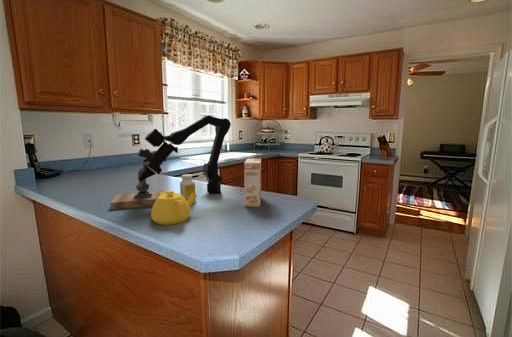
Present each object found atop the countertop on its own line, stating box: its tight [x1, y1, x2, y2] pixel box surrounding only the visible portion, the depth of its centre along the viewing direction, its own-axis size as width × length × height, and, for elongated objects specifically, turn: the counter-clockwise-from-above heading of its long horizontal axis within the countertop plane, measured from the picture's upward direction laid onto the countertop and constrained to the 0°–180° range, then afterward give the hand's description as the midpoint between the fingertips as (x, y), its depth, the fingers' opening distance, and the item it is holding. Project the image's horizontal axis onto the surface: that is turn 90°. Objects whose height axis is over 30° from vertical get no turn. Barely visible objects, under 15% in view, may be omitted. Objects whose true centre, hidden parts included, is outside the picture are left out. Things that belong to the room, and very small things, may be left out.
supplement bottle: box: [179, 173, 197, 204], centre depth 120 cm, size 7×7×13 cm
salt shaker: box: [135, 167, 150, 195], centre depth 120 cm, size 6×6×12 cm
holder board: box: [110, 190, 168, 210], centre depth 121 cm, size 24×14×3 cm, turn 107°
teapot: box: [150, 190, 198, 226], centre depth 101 cm, size 20×18×11 cm
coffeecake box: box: [243, 158, 262, 208], centre depth 121 cm, size 15×7×20 cm, turn 176°
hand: (138, 179), depth 119 cm, fingers closed on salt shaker, 4 cm apart
